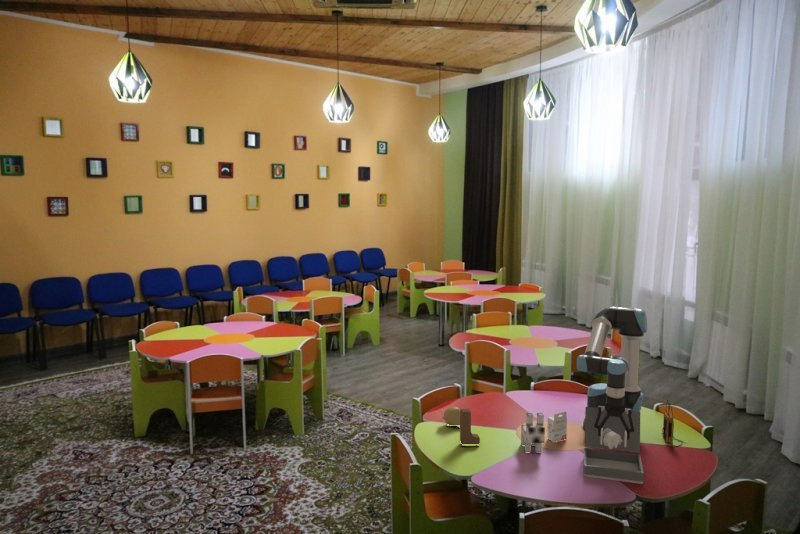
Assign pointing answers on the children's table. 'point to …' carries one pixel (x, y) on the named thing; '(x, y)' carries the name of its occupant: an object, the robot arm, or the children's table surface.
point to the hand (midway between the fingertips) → (613, 444)
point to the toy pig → (452, 416)
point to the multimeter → (668, 426)
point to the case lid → (615, 426)
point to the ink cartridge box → (557, 427)
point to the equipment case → (613, 465)
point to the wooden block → (467, 428)
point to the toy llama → (533, 432)
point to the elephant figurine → (611, 438)
